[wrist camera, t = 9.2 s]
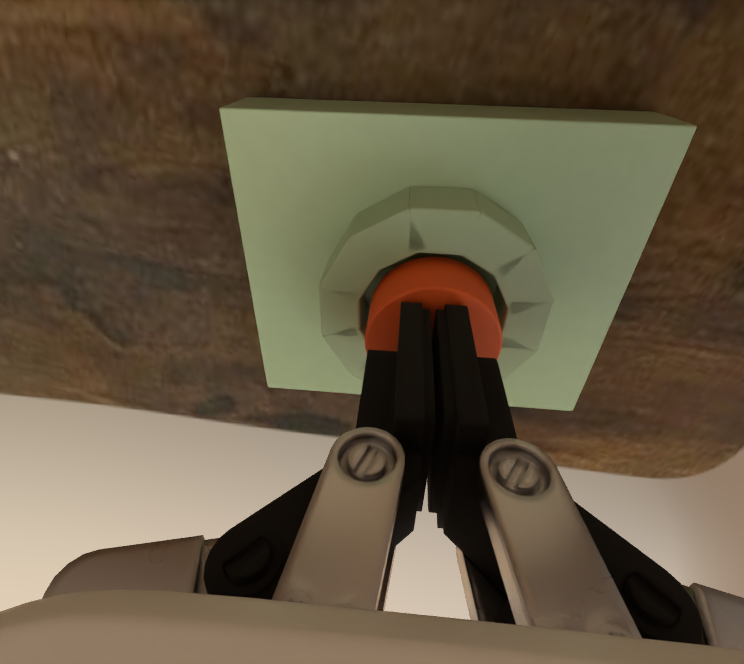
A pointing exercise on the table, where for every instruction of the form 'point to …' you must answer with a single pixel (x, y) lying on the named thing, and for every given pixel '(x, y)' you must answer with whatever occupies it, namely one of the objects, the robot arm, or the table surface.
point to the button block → (444, 224)
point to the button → (433, 302)
